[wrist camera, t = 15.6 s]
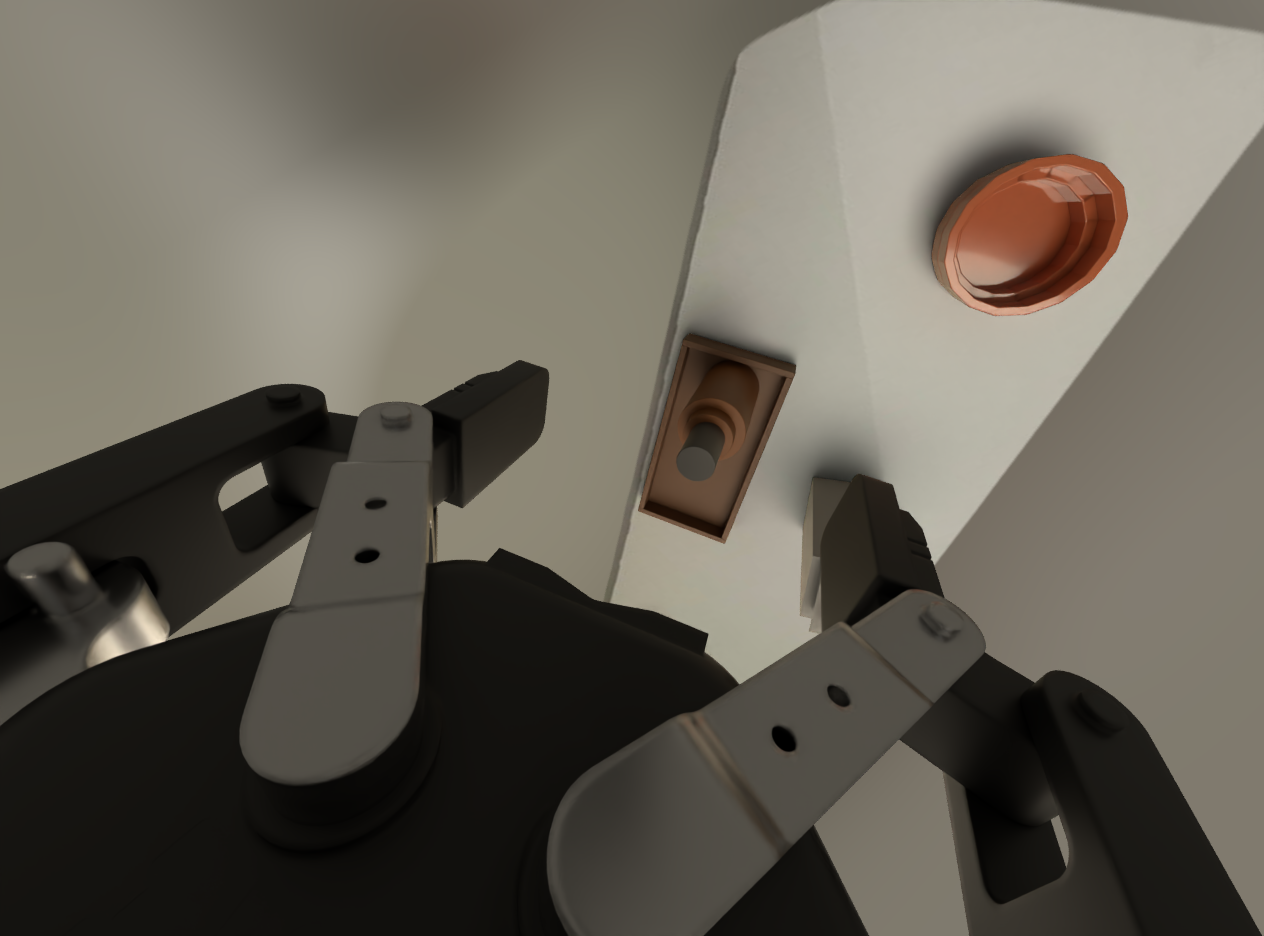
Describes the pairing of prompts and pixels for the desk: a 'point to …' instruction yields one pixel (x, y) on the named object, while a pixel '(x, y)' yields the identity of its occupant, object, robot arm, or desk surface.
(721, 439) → the bottle
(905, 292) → the desk surface
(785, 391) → the tray
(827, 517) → the perfume bottle
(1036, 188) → the bowl
